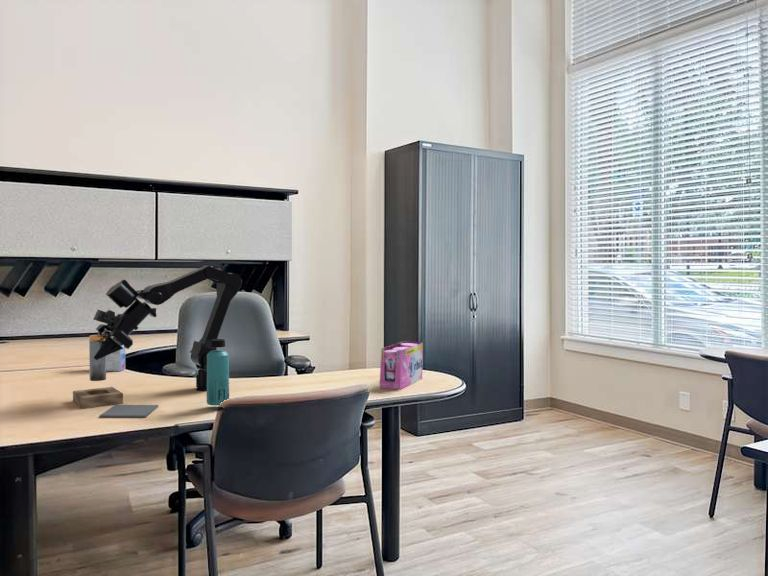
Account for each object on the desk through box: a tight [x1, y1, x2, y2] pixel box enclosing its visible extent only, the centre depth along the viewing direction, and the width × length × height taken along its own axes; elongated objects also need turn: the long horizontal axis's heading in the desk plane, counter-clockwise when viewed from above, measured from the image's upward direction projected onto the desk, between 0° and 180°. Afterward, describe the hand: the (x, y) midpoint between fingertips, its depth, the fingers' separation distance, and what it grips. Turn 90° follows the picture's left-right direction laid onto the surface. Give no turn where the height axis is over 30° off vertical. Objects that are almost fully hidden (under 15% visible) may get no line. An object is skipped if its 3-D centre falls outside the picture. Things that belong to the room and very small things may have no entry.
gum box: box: [379, 340, 424, 391], centre depth 219 cm, size 24×8×14 cm, turn 157°
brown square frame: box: [72, 386, 124, 409], centre depth 183 cm, size 11×11×3 cm
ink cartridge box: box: [106, 345, 126, 372], centre depth 233 cm, size 10×6×14 cm, turn 96°
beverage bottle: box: [205, 338, 231, 406], centre depth 178 cm, size 6×7×20 cm
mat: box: [99, 404, 159, 419], centre depth 172 cm, size 12×12×1 cm
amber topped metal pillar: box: [88, 334, 107, 382], centre depth 182 cm, size 4×4×13 cm
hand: (92, 357), depth 181 cm, fingers closed on amber topped metal pillar, 4 cm apart
